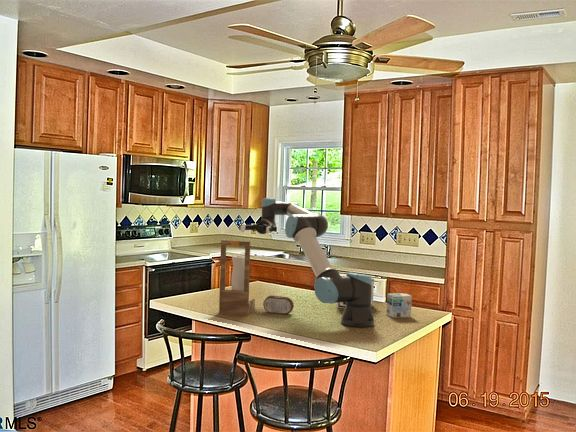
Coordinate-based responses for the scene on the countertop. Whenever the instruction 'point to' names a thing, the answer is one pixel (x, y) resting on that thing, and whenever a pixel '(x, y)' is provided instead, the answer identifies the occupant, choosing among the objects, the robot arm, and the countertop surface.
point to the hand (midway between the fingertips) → (254, 229)
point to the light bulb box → (399, 305)
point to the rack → (235, 299)
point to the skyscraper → (238, 272)
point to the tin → (278, 305)
